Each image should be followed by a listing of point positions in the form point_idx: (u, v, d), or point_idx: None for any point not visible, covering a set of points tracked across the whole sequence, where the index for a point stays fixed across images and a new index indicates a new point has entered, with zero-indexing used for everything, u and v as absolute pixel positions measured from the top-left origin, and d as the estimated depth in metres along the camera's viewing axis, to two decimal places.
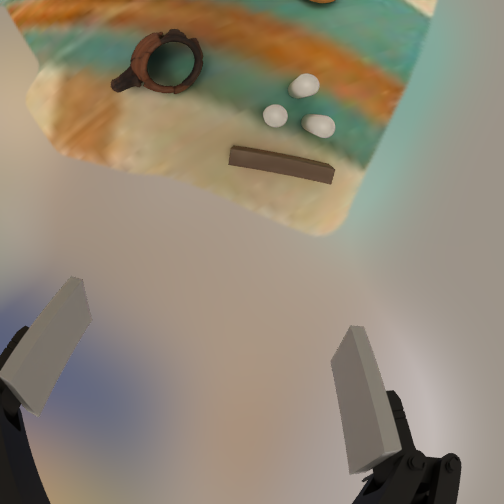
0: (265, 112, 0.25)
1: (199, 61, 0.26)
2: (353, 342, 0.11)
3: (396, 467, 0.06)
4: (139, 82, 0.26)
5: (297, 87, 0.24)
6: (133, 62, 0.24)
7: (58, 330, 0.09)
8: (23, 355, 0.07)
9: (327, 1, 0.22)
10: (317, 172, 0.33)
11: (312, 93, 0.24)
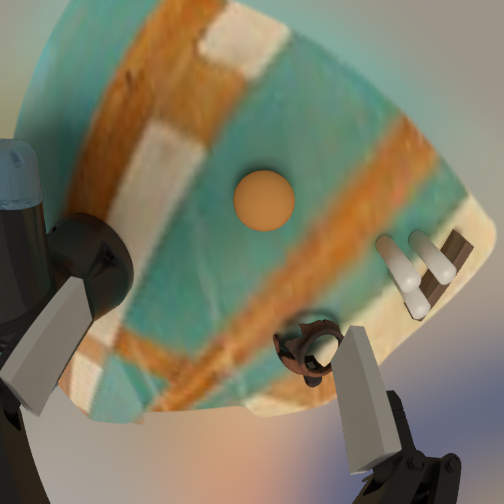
0: (415, 317, 0.26)
1: (329, 331, 0.34)
2: (353, 342, 0.11)
3: (396, 467, 0.06)
4: None
5: (409, 291, 0.25)
6: None
7: (58, 330, 0.09)
8: (23, 355, 0.07)
9: None
10: (461, 257, 0.28)
11: (419, 280, 0.24)
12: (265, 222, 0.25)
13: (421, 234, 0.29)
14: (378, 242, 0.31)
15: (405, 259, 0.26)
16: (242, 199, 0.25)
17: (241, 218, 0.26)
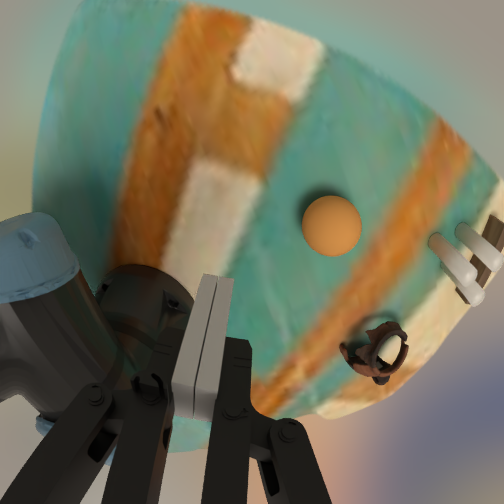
0: (473, 305, 0.25)
1: (394, 332, 0.33)
2: (216, 290, 0.13)
3: None
4: None
5: (468, 284, 0.23)
6: (375, 376, 0.35)
7: (207, 326, 0.12)
8: (195, 355, 0.09)
9: None
10: (502, 240, 0.26)
11: (476, 273, 0.22)
12: (341, 249, 0.25)
13: (466, 226, 0.28)
14: (431, 241, 0.30)
15: (460, 255, 0.24)
16: (316, 230, 0.25)
17: (315, 248, 0.26)
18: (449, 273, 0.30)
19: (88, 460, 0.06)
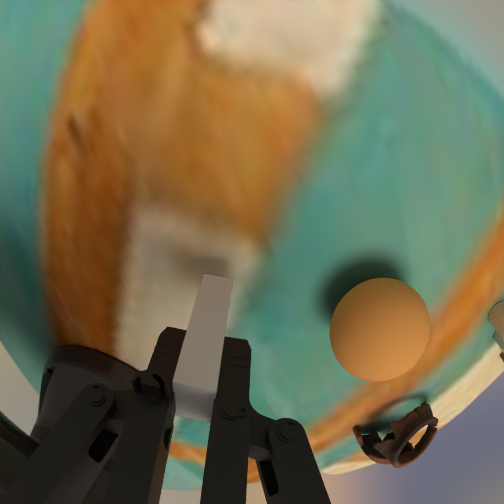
0: None
1: (424, 423, 0.20)
2: (215, 290, 0.13)
3: None
4: None
5: None
6: None
7: None
8: (196, 355, 0.09)
9: None
10: None
11: None
12: (394, 377, 0.12)
13: None
14: (493, 314, 0.17)
15: None
16: (359, 355, 0.12)
17: (352, 373, 0.13)
18: None
19: (89, 461, 0.06)
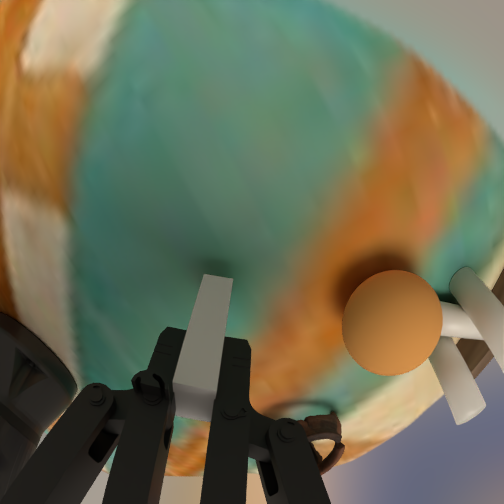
0: (460, 423, 0.11)
1: (313, 438, 0.19)
2: (215, 290, 0.13)
3: None
4: None
5: None
6: None
7: None
8: (196, 355, 0.09)
9: (391, 327, 0.11)
10: None
11: None
12: None
13: (471, 276, 0.14)
14: None
15: None
16: None
17: None
18: (430, 357, 0.16)
19: (89, 460, 0.06)
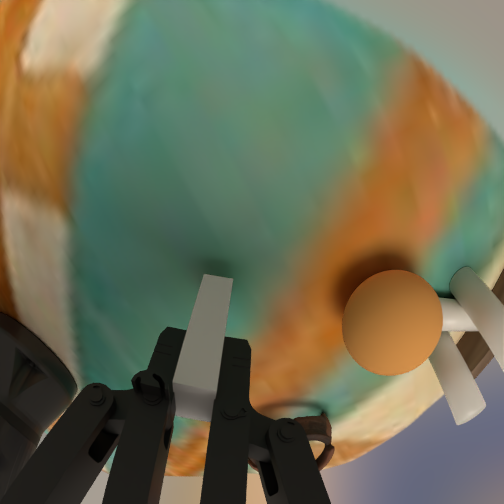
0: (460, 423, 0.11)
1: None
2: (215, 290, 0.13)
3: None
4: None
5: None
6: None
7: None
8: (196, 356, 0.09)
9: (391, 326, 0.11)
10: None
11: None
12: None
13: (471, 276, 0.14)
14: None
15: None
16: None
17: None
18: (430, 357, 0.16)
19: (89, 460, 0.06)
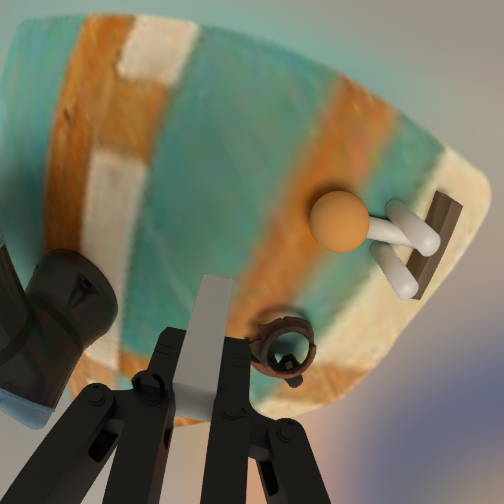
0: (402, 298, 0.24)
1: (289, 329, 0.32)
2: (215, 290, 0.13)
3: None
4: None
5: None
6: None
7: None
8: (196, 355, 0.09)
9: (332, 212, 0.24)
10: (450, 220, 0.25)
11: None
12: None
13: (397, 203, 0.27)
14: (371, 230, 0.27)
15: None
16: None
17: None
18: (377, 260, 0.29)
19: (89, 460, 0.06)
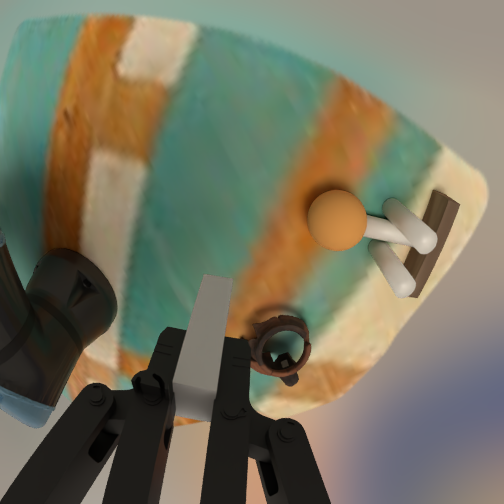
0: (399, 296, 0.24)
1: (283, 327, 0.32)
2: (215, 290, 0.13)
3: None
4: None
5: None
6: None
7: None
8: (196, 355, 0.09)
9: (329, 210, 0.24)
10: (448, 218, 0.25)
11: None
12: None
13: (394, 202, 0.27)
14: (369, 229, 0.27)
15: None
16: None
17: None
18: (375, 258, 0.29)
19: (90, 460, 0.06)
